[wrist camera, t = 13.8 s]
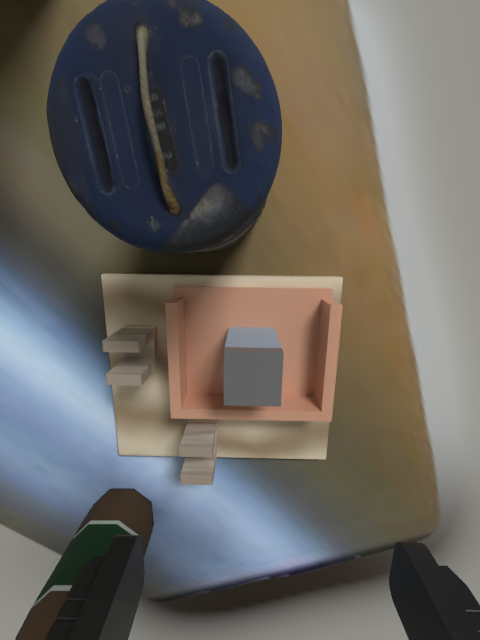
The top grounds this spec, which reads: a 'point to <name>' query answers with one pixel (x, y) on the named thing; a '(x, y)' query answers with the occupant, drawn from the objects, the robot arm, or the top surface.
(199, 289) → the tray
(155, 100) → the canister
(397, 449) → the top surface
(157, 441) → the board
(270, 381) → the grey block
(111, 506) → the beer bottle
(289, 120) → the top surface
